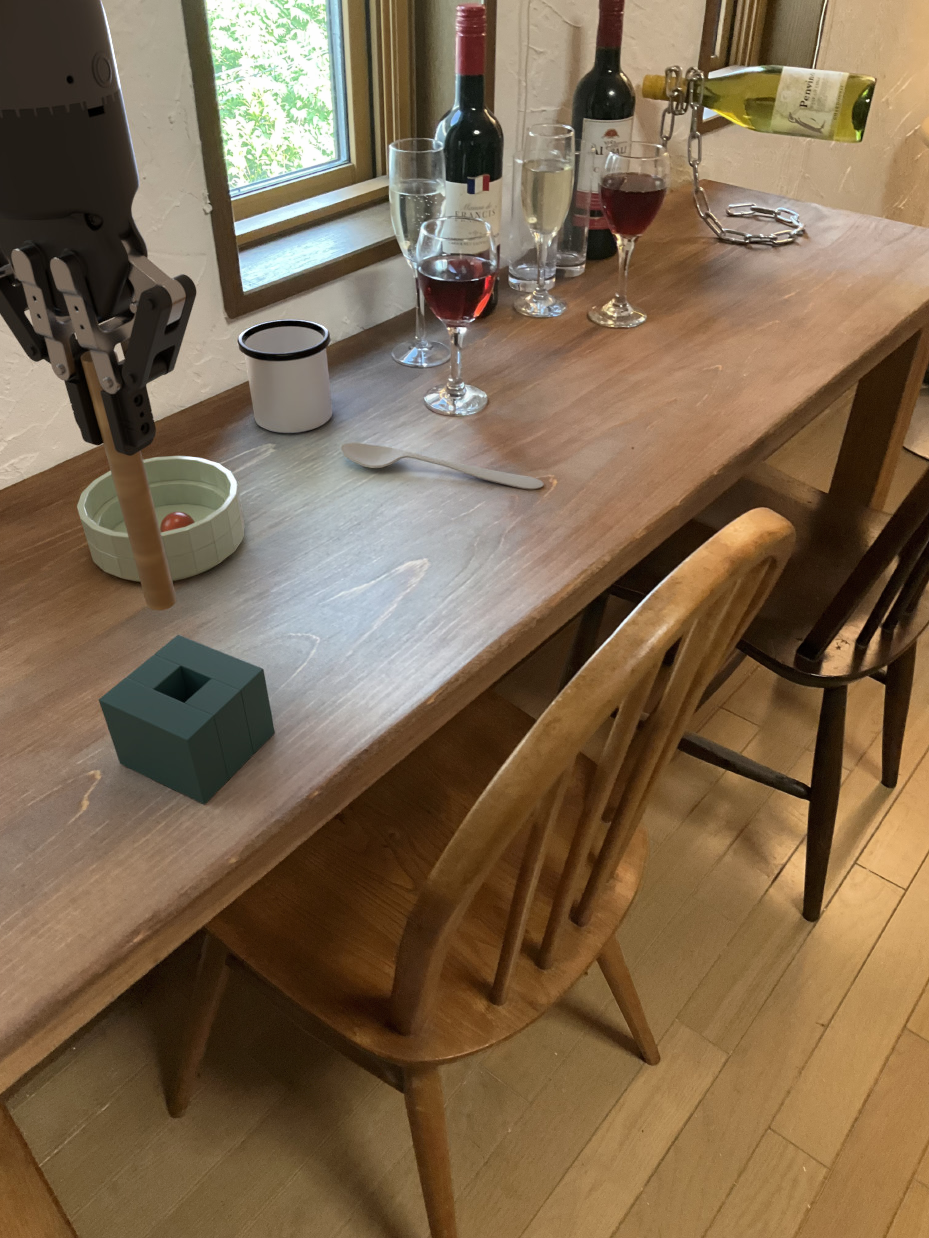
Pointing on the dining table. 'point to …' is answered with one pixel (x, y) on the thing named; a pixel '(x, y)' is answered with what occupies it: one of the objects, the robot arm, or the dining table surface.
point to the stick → (134, 505)
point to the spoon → (387, 456)
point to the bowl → (173, 489)
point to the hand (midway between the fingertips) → (120, 442)
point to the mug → (288, 374)
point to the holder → (189, 717)
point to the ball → (175, 521)
